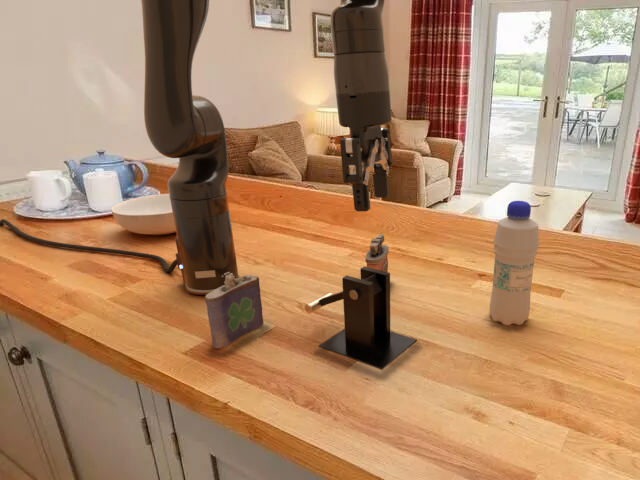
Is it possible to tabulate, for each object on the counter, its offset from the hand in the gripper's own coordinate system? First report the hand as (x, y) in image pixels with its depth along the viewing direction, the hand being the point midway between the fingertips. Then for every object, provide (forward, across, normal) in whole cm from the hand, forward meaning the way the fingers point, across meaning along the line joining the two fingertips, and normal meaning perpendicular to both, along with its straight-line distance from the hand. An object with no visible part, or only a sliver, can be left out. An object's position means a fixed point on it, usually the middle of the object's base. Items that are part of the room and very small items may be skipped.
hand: (372, 203), depth 75 cm
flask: (+18, +14, -18) cm, 29 cm away
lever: (+12, +10, -1) cm, 16 cm away
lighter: (+19, -9, -4) cm, 21 cm away
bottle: (+20, -3, +20) cm, 29 cm away
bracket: (+19, +11, +2) cm, 22 cm away
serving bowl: (+14, -28, -67) cm, 74 cm away
